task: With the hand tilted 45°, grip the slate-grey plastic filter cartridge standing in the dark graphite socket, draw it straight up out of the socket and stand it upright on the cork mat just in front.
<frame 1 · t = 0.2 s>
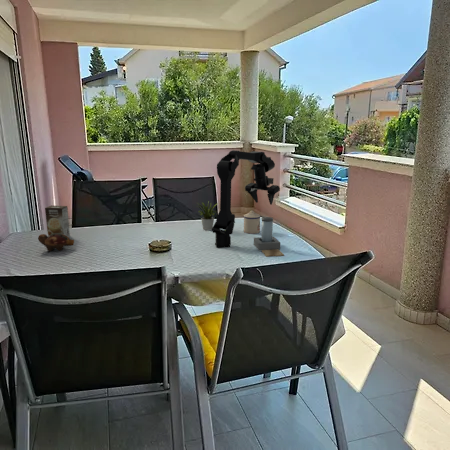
hand: (264, 203, 207), 15 cm above the table, tool pointing down, fingers open, 9 cm apart
mat: (272, 253, 174), on the table
cartridge: (267, 232, 182), in the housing
house plant: (205, 229, 216), on the table
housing: (266, 247, 183), on the table
coffee box: (59, 237, 201), on the table
teacup with lid: (251, 231, 212), on the table
decorative turtle: (57, 250, 180), on the table
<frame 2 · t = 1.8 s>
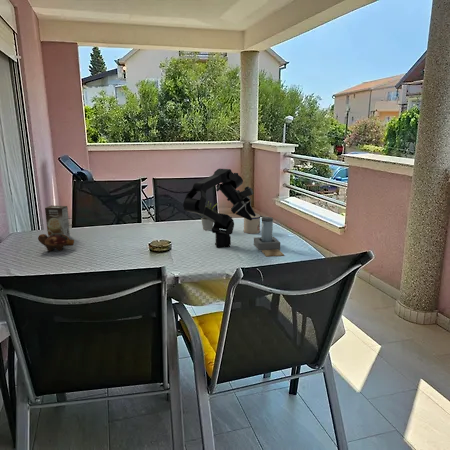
hand: (253, 217, 182), 14 cm above the table, tool tilted 45°, fingers open, 9 cm apart
nothing on the table moved.
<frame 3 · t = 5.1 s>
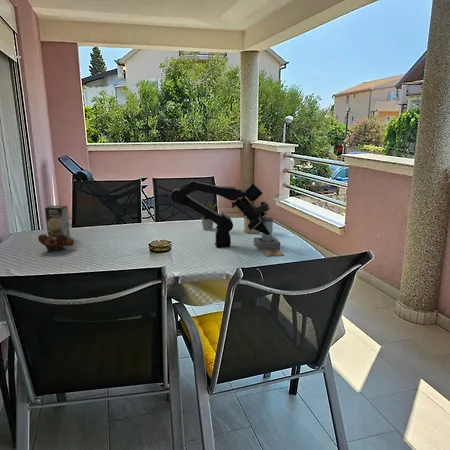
hand: (270, 233, 181), 7 cm above the table, tool tilted 45°, fingers closed on cartridge, 5 cm apart
cartridge: (267, 232, 182), in the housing, touching gripper
everything else where it was.
when the fingers open (8 cm above the table, at t = 9.5 s): cartridge stays where it is, resting on mat.
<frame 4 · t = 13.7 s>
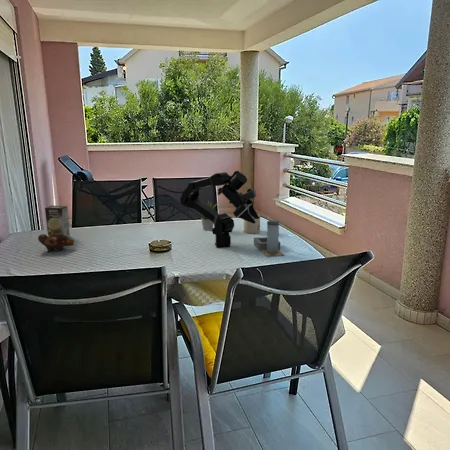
hand: (256, 220, 176), 14 cm above the table, tool tilted 45°, fingers open, 9 cm apart
cartridge: (272, 237, 172), on the mat
everything else where it was.
at the end: cartridge 0.1 cm off-centre on the mat, point 7.5 cm above the mat's base; cartridge tilted 0°; the gripper is holding nothing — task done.
